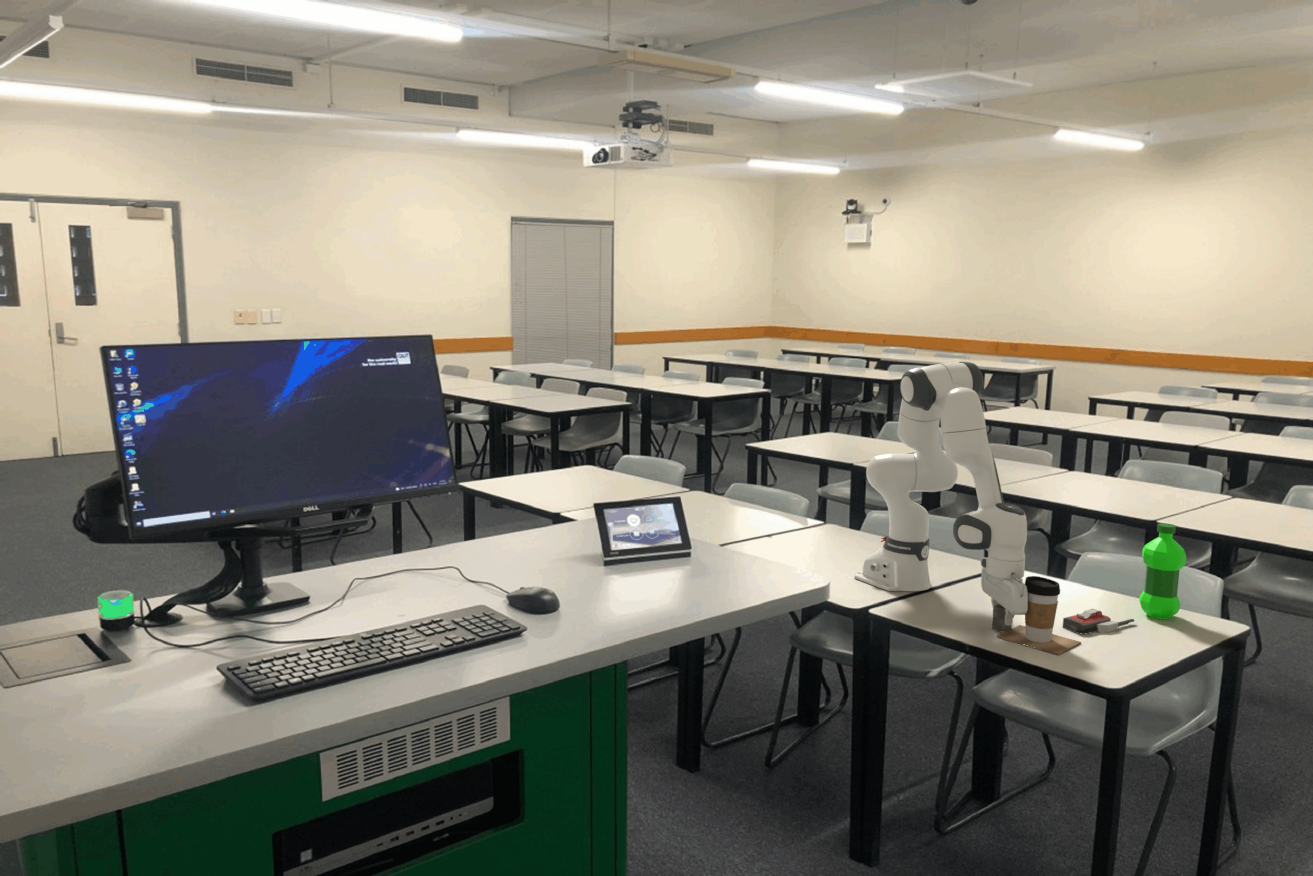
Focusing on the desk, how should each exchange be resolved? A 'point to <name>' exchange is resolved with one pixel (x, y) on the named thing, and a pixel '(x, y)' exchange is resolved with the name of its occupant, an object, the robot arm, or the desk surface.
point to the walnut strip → (1018, 635)
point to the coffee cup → (1041, 608)
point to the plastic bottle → (1162, 574)
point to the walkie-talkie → (1092, 622)
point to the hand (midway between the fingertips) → (1002, 620)
